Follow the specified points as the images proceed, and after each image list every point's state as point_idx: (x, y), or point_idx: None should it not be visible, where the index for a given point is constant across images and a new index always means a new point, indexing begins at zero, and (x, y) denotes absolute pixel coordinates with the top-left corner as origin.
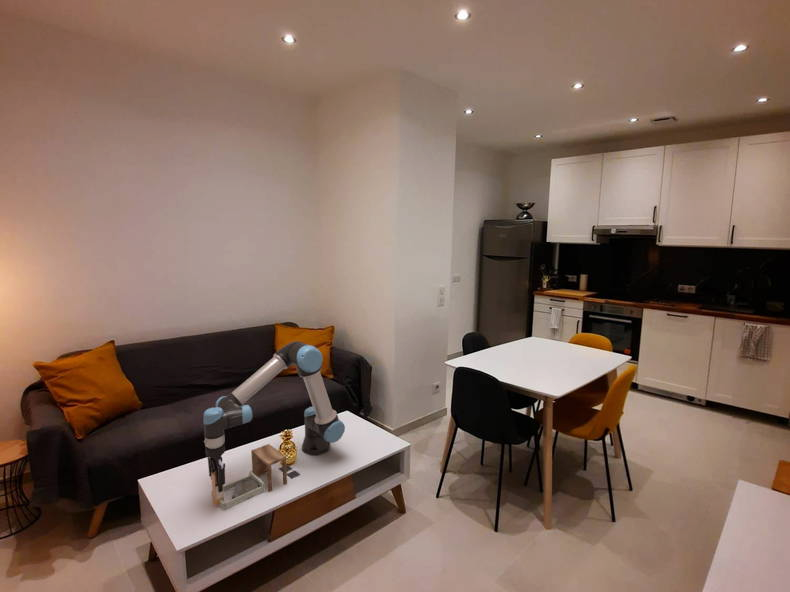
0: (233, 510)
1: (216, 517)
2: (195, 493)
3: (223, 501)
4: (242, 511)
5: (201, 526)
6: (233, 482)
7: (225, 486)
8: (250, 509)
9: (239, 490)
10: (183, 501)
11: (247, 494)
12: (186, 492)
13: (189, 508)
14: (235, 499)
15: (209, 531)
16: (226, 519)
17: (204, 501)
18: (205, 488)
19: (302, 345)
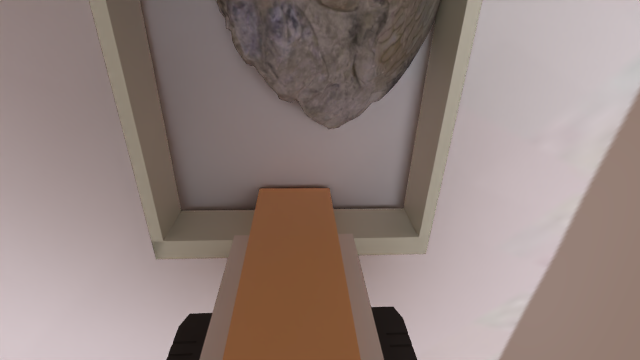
0: (468, 171)
1: (433, 271)
2: (50, 284)
3: (392, 241)
4: (543, 127)
5: (432, 339)
6: (110, 23)
7: (139, 130)
8: (588, 64)
9: (346, 50)
10: (116, 348)
11: (473, 3)
12: (3, 317)
13: None
14: (445, 150)
15: (506, 325)
16: (507, 238)
17: (200, 271)
18: (4, 217)
19: None
